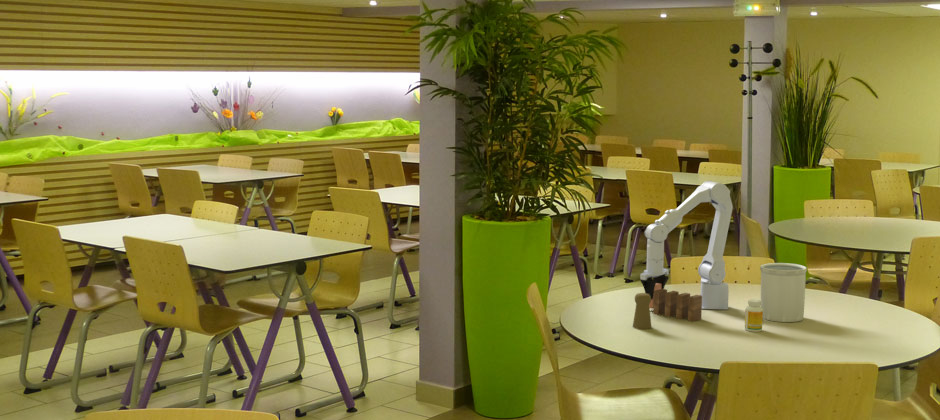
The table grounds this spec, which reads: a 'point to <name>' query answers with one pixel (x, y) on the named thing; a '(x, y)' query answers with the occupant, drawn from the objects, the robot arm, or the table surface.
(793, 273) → the utensil holder
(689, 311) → the domino
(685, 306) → the domino
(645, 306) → the cork
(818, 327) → the table surface
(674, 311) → the domino
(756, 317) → the supplement bottle
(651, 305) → the domino
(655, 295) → the domino
